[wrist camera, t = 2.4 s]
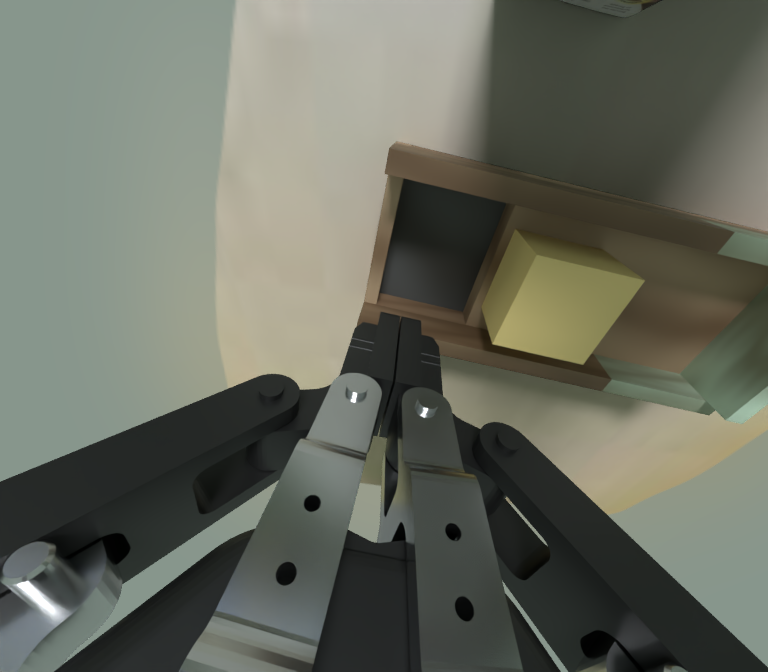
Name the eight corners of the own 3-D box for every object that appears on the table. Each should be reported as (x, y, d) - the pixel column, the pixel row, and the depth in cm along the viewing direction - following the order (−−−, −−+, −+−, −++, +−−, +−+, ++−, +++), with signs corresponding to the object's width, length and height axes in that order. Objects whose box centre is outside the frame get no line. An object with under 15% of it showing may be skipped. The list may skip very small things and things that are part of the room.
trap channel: (396, 141, 17) (385, 151, 12) (789, 237, 18) (926, 282, 13) (366, 300, 23) (350, 350, 18) (664, 368, 24) (727, 434, 19)
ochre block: (515, 228, 17) (536, 254, 14) (603, 249, 17) (645, 280, 14) (481, 307, 20) (492, 344, 17) (557, 324, 20) (582, 364, 17)
